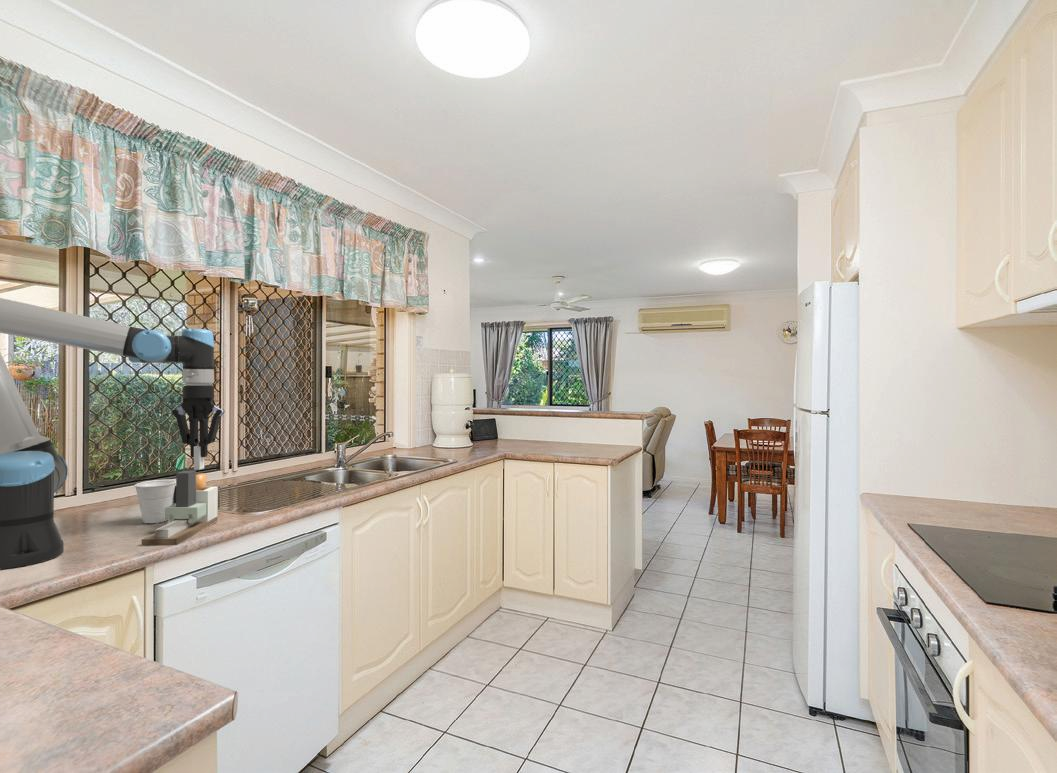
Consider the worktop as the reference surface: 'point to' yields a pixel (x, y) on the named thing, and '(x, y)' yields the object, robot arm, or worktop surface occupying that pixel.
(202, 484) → the button
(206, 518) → the cabinet
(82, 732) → the worktop surface
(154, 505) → the cup
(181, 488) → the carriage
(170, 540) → the track
